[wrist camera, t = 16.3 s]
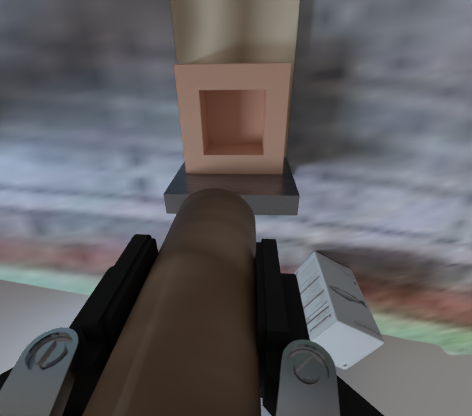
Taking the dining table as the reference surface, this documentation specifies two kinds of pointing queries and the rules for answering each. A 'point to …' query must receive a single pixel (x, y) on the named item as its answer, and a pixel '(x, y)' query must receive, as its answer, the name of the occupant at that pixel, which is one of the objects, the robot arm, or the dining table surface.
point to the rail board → (236, 33)
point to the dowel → (191, 321)
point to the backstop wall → (240, 190)
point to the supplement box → (336, 311)
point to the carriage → (233, 116)
